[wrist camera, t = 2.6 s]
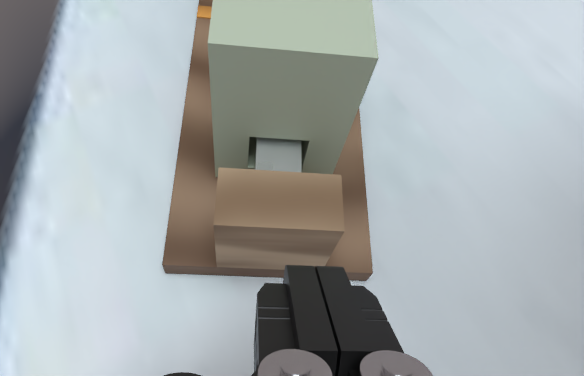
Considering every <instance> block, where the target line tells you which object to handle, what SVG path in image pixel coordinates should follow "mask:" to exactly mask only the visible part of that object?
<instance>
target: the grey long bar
mask: <svg viewBox="0 0 584 376" xmlns="http://www.w3.org/2000/svg"><path fill="white" fill-rule="evenodd" d="M254 170H270V171H286V172H302V168H301V140H291V139H277V138H262V137H256V146H255V167H254Z"/></svg>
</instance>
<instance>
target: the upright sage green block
mask: <svg viewBox="0 0 584 376" xmlns="http://www.w3.org/2000/svg"><path fill="white" fill-rule="evenodd" d="M208 57H209V75H210V92H211V109H212V127H213V144H214V161H215V177H218V168H219V167H221V168H237V169H253V170H254V167H255V146H256V137H262V138H277V139H291V140H301V168H302V173H319V174H333V172H334V169H335V167H336V164H337V162H338V159H339V157H340V154H341V151H342V149H343V146H344V144H345V141H346V139H347V136H348V134H349V131H350V129H351V126H352V124H353V121H354V119H355V116H356V114H357V111H358V108H359V106H360V103H361V101H362V98H363V96H364V93H365V91H366V88H367V86H368V83H369V81H370V78H371V76H372V73H373V71H374V68H375V65H376V63H377V60H378V50H377V42H376V33H375V24H374V15H373V6H372V0H213V3H212V11H211V19H210V28H209V36H208Z"/></svg>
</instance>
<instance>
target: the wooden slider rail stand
mask: <svg viewBox="0 0 584 376" xmlns="http://www.w3.org/2000/svg"><path fill="white" fill-rule="evenodd" d="M212 3H213V0H199V5H198V12H197V20H196V28H195V35H194V42H193V49H192V56H191V63H190V71H189V78H188V85H187V92H186V99H185V106H184V113H183V121H182V128H181V135H180V142H179V149H178V156H177V164H176V171H175V178H174V185H173V192H172V199H171V207H170V214H169V221H168V228H167V235H166V242H165V250H164V257H163V264H162V265H163V268H164V270H165V273H174V274H201V275H228V276H254V277H281V278H284V270H285V265H305V266H314V267H315V266H338V267H344V269H345V272H346V274H347V277H348V279H349V280H361V281H366V280H367V279H368V278H369V277H370V276H371V275H372V273H373V271H372V259H371V247H370V235H369V223H368V211H367V198H366V186H365V174H364V162H363V150H362V138H361V125H360V113H359V108H358V111H357V114H356V116H355V119H354V121H353V124H352V126H351V129H350V131H349V134H348V136H347V139H346V141H345V144H344V146H343V149H342V151H341V154H340V157H339V159H338V162H337V164H336V167H335V169H334V172H333V174H319V173H302V172H286V171H270V170H253V169H237V168H221V167H219V168H218V177H215V161H214V144H213V127H212V109H211V92H210V75H209V57H208V36H209V28H210V19H211V11H212Z"/></svg>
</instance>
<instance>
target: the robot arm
mask: <svg viewBox="0 0 584 376" xmlns="http://www.w3.org/2000/svg"><path fill="white" fill-rule="evenodd" d="M164 376H201V375H197V374H193V373H183V372H181V373H172V374H167V375H164ZM251 376H433V375H432V374H431V372H430V371H429V369H428V368H427V367H426V366H425V365H424V364H423V363H421V362H420V361H419V360H417V359H415V358H414V357H412V356H409V355H407V354H404V352H403V350H402V348H401V346H400V344H399V342H398V340H397V338H396V336H395V334H394V332H393V330H392V328H391V326H390V324H389V322H387V318H386V316H385V313H384V311H382V307H381V305H380V303H379V301H378V299H377V297H376V296H375V295H373V294H372V293H371V292H370V291H369V290H367V289H366V288H365V287H364V286H351V284H350V281H349V279H348V277H347V274H346V272H345V269H344V267H338V266H315V267H314V266H305V265H285V270H284V280H283V284H274V283H265V284H264V286H263V287H262V288H261V289H260V291H259V292H258V293H257V306H256V321H255V337H254V373H253V374H252V375H251Z"/></svg>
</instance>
